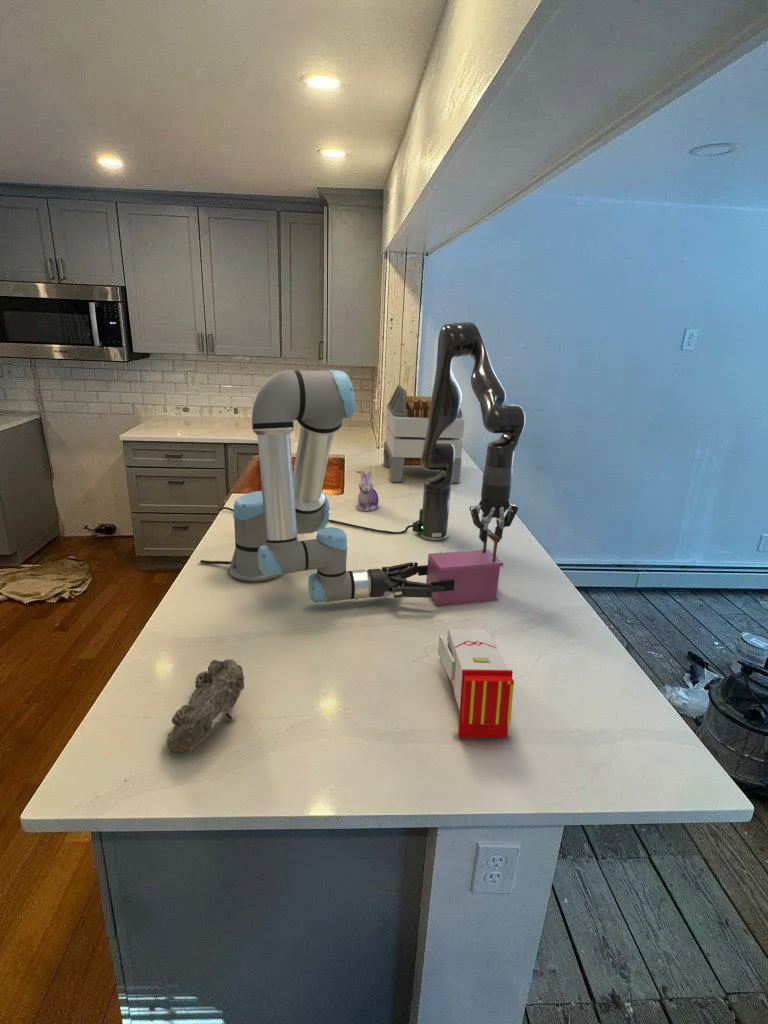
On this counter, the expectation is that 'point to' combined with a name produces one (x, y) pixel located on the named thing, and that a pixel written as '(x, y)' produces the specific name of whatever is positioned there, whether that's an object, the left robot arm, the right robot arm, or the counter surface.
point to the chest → (464, 584)
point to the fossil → (206, 705)
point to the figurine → (367, 493)
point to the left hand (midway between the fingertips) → (446, 576)
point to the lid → (468, 557)
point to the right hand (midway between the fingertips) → (490, 540)
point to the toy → (478, 682)
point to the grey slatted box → (415, 434)
